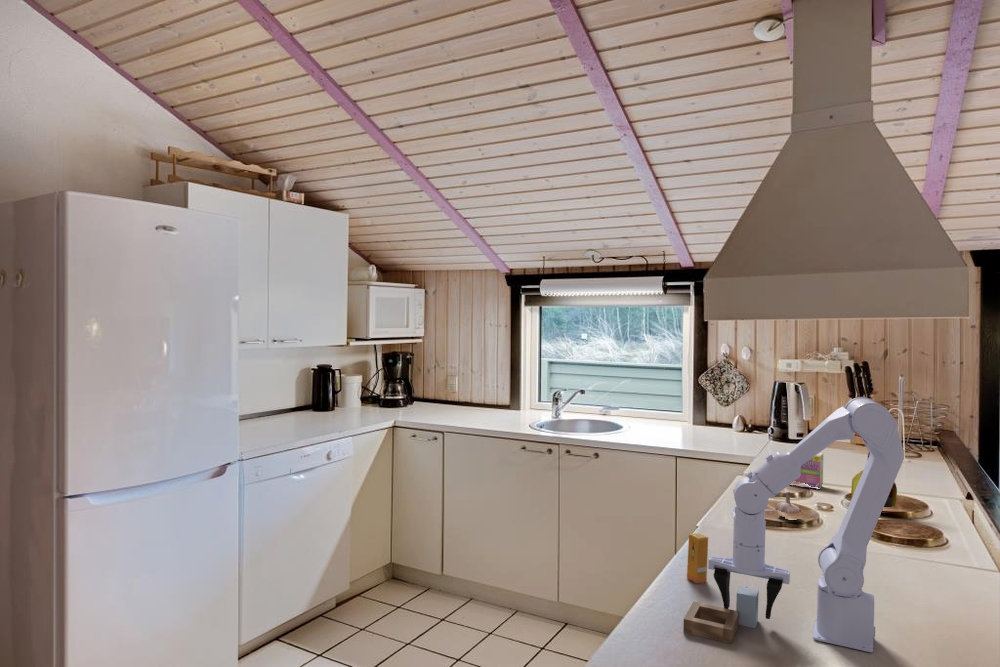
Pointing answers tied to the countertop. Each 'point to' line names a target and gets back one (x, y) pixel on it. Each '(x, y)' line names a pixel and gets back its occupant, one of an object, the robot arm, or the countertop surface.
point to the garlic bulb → (787, 506)
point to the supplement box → (697, 558)
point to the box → (812, 472)
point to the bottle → (891, 497)
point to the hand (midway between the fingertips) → (747, 612)
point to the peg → (747, 606)
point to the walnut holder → (711, 622)
